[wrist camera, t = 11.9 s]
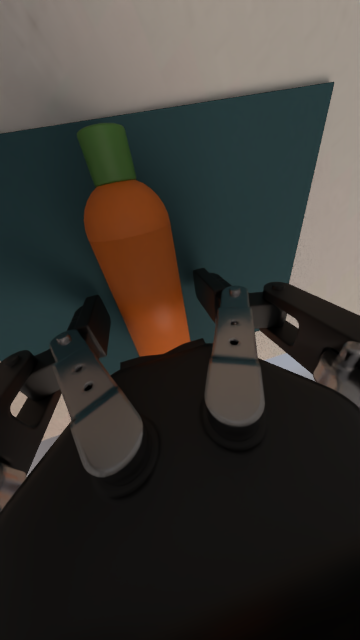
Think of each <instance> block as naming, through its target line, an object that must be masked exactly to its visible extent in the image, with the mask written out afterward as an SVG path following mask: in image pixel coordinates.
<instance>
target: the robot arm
mask: <svg viewBox="0 0 360 640" xmlns="http://www.w3.org/2000/svg"><path fill="white" fill-rule="evenodd" d="M193 278H194V286H195V293H196V297H197V299H198V300H199V302H200V303H201V305H202V306H203V307H204V309H205V310H206V312H207V313H208V315H209V316H210V317H211V319H212V320H213V322H214V323H215V325H216V327H215V334H214V341H213V343H205V341H204V339H203V338H201V339H197V340H194V341H191V342H187V343H184V344H182V345H180V346H178V347H176V348H174V349H172V350H170V351H168V352H166V353H164V354H158V355H148V356H140V357H137V358H134V359H130V360H127V361H124V362H120V370H118V371H116V372H115V373H113V374H112V375H110V374H109V373H108V371H107V370H106V369H105V367H104V366H103V364H102V363H101V362H100V360H99V358H103V357H106V356H107V350H108V342H109V334H110V326H111V319H110V316H109V313H108V311H107V309H106V307H105V305H104V303H103V301H102V299H101V297H100V296H99V295H94V296H90V297H86V299H85V301H84V304H83V306H81V307H80V308H79V309H77V310H76V311H75V313H74V316H73V318H72V320H71V322H70V324H69V327H68V329H67V331H65V332H62V333H60V334H59V335H57V336H56V337H54V338H53V339H52V340H51V342H50V344H49V347H50V349H48V350H46V351H44V352H42V353H40V354H37V355H35V356H34V355H33V354H32V353H31V352H30V351H28V350H23V351H19V352H16V353H14V354H12V355H10V356H9V357H7V358H5V359H4V360H3V361H2V362H1V363H0V640H360V316H359V315H357V314H355V313H352V312H350V311H348V310H346V309H344V308H341V307H339V306H337V305H335V304H332V303H330V302H328V301H326V300H323V299H321V298H319V297H317V296H315V295H312V294H310V293H308V292H306V291H303V290H301V289H299V288H297V287H295V286H292V285H290V284H288V283H284V282H270V283H267V284H265V285H264V287H263V292H255V293H248V290H247V289H246V288H245V287H242V286H232V285H230V284H229V283H228V282H227V281H226V280H224V279H223V278H222V277H221V276H220V275H218V274H216V273H213V272H212V273H209V272H208V271H207V270H206V269H205V268H200V269H196V270H193ZM287 313H288V314H289V315H291V316H292V317H294V318H295V319H296V320H297V321H298V323H299V329H298V328H297V327H295V326H294V325H292V324H290V323H289V322H287V321H286V316H287ZM254 329H259V330H260V331H261V332H262V333H264V334H265V335H266V336H267V337H268V338H270V339H271V340H272V341H273V342H274V343H276V344H277V345H278V346H279V347H280V348H282V349H283V350H284V351H285V352H286V353H288V354H289V355H290V356H291V357H293V358H294V359H295V360H296V361H297V362H298V363H300V364H301V365H302V366H303V367H304V368H306V369H307V370H308V371H309V372H310V373H312V374H313V377H314V379H315V381H316V382H315V381H313V380H310V379H308V378H305V377H303V376H300V375H298V374H296V373H293V372H290V371H288V370H286V369H283V368H281V367H279V366H276V365H274V364H271V363H268V362H266V361H264V360H261V359H259V358H258V356H257V347H256V339H255V330H254ZM19 391H21V392H22V393H23V394H25V395H26V396H27V397H28V398H27V400H26V402H25V403H24V405H23V407H22V408H21V410H20V412H19V414H18V415H17V417H14V416H13V415H12V414H11V412H10V406H11V403H12V402H13V400H14V399H15V397H16V395H17V394H18V392H19ZM61 394H62V395H63V398H64V401H65V403H66V406H67V409H68V412H69V414H70V417H71V422H70V423H69V425H68V426H67V427H66V428H65V430H64V431H63V432H62V434H61V435H60V436H59V437H58V439H57V440H56V441H55V442H54V444H53V445H52V446H51V447H50V449H49V450H48V451H47V452H46V454H45V455H44V456H43V458H42V459H41V460H40V461H39V463H38V464H37V465H36V466H35V468H34V469H33V470H32V471H31V473H30V474H29V475H28V477H26V475H27V473H28V471H29V469H30V466H31V464H32V462H33V459H34V457H35V454H36V452H37V450H38V447H39V445H40V443H41V440H42V438H43V436H44V433H45V431H46V429H47V426H48V424H49V422H50V419H51V417H52V415H53V412H54V410H55V408H56V405H57V403H58V401H59V398H60V396H61Z"/></svg>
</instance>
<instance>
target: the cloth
mask: <svg viewBox="0 0 360 640" xmlns="http://www.w3.org/2000/svg"><path fill="white" fill-rule="evenodd" d="M333 87H334V82H330V83H323V84H317V85H310V86H304V87H298V88H291V89H285V90H278V91H272V92H265V93H259V94H253V95H246V96H240V97H233V98H227V99H221V100H214V101H208V102H201V103H195V104H189V105H182V106H176V107H169V108H163V109H156V110H150V111H144V112H137V113H131V114H124V115H118V116H112V117H105V118H99V119H92V120H86V121H80V122H73V123H67V124H60V125H54V126H47V127H41V128H35V129H28V130H22V131H15V132H9V133H3V134H0V361H1V362H2V361H3V360H4V359H5V358H7V357H9V356H10V355H12V354H14V353H16V352H19V351H23V350H28V351H30V352H31V353H32V354H33V355H34V356H35V355H37V354H40V353H42V352H44V351H46V350H48V349H50V347H49V344H50V342H51V340H52V339H53V338H54V337H56V336H57V335H59V334H60V333H62V332H65V331H67V329H68V327H69V324H70V322H71V320H72V318H73V316H74V313H75V311H76V310H77V309H79V308H80V307H81V306H83V304H84V301H85V299H86V297H90V296H94V295H99V296H100V297H101V299H102V301H103V303H104V305H105V307H106V309H107V311H108V313H109V316H110V319H111V326H110V334H109V342H108V350H107V356H106V357H103V358H99V360H100V362H101V363H102V364H103V366H104V367H105V369H106V370H107V371H108V373H109V374H110V375H112V374H113V373H115V372H116V371H118V370H120V362H124V361H127V360H130V359H134V358H137V357H140V356H139V354H138V351H137V349H136V347H135V345H134V342H133V340H132V338H131V336H130V333H129V331H128V329H127V326H126V324H125V322H124V320H123V317H122V315H121V313H120V311H119V308H118V306H117V304H116V302H115V299H114V297H113V295H112V292H111V290H110V288H109V286H108V283H107V281H106V279H105V277H104V274H103V272H102V270H101V267H100V265H99V263H98V261H97V258H96V256H95V254H94V252H93V249H92V247H91V245H90V243H89V240H88V238H87V235H86V232H85V226H84V210H85V206H86V203H87V200H88V198H89V196H90V195H91V193H92V192H93V191H94V189H95V188H96V187H95V185H94V183H93V180H92V177H91V175H90V172H89V169H88V166H87V163H86V161H85V158H84V155H83V152H82V150H81V147H80V144H79V141H78V138H77V132H78V131H79V130H81V129H82V128H84V127H87V126H90V125H94V124H99V123H116V124H119V125H122V126H123V127H124V129H125V132H126V136H127V140H128V144H129V148H130V153H131V157H132V161H133V165H134V169H135V173H136V180H137V181H139V182H142V183H144V184H145V185H147V186H148V187H149V188H151V189H152V190H153V191H154V192H155V193H156V194H157V195H158V196H159V198H160V199H161V201H162V202H163V204H164V206H165V208H166V210H167V212H168V216H169V219H170V224H171V230H172V236H173V242H174V248H175V254H176V260H177V266H178V271H179V277H180V283H181V289H182V295H183V301H184V307H185V312H186V318H187V324H188V330H189V336H190V342H191V341H194V340H197V339H201V338H203V339H204V341H205V343H213V341H214V334H215V327H216V325H215V323H214V322H213V320H212V319H211V317H210V316H209V315H208V313H207V312H206V310H205V309H204V307H203V306H202V305H201V303H200V302H199V300H198V299H197V297H196V293H195V286H194V278H193V270H196V269H200V268H205V269H206V270H207V271H208V272H209V273H212V272H213V273H216V274H218V275H220V276H221V277H222V278H223V279H224V280H226V281H227V282H228V283H229V284H230V285H232V286H242V287H245V288H246V289H247V290H248V293H255V292H263V287H264V285H265V284H267V283H270V282H284V283H288V284H289V280H290V276H291V271H292V267H293V263H294V258H295V254H296V249H297V245H298V241H299V236H300V232H301V227H302V223H303V219H304V214H305V210H306V205H307V201H308V197H309V192H310V188H311V183H312V179H313V175H314V170H315V166H316V161H317V157H318V153H319V148H320V144H321V139H322V135H323V131H324V126H325V122H326V117H327V113H328V109H329V104H330V100H331V95H332V91H333ZM254 330H255V332H256V331H259V329H254Z"/></svg>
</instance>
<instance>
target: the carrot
mask: <svg viewBox="0 0 360 640" xmlns="http://www.w3.org/2000/svg"><path fill="white" fill-rule="evenodd" d="M77 138H78V141H79V144H80V147H81V150H82V152H83V155H84V158H85V161H86V163H87V166H88V169H89V172H90V175H91V177H92V180H93V183H94V185H95V187H96V188H95V189H94V191H93V192H92V193H91V195H90V196H89V198H88V200H87V203H86V206H85V210H84V226H85V232H86V235H87V238H88V240H89V243H90V245H91V247H92V249H93V252H94V254H95V256H96V258H97V261H98V263H99V265H100V267H101V270H102V272H103V274H104V277H105V279H106V281H107V283H108V286H109V288H110V290H111V292H112V295H113V297H114V299H115V302H116V304H117V306H118V308H119V311H120V313H121V315H122V317H123V320H124V322H125V324H126V326H127V329H128V331H129V333H130V336H131V338H132V340H133V342H134V345H135V347H136V349H137V351H138V354H139V356H148V355H158V354H164V353H166V352H168V351H170V350H172V349H174V348H176V347H178V346H180V345H182V344H184V343H187V342H190V336H189V330H188V324H187V318H186V312H185V307H184V301H183V295H182V289H181V283H180V277H179V271H178V266H177V260H176V254H175V248H174V242H173V236H172V230H171V224H170V219H169V216H168V212H167V210H166V208H165V206H164V204H163V202H162V201H161V199H160V198H159V196H158V195H157V194H156V193H155V192H154V191H153V190H152V189H151V188H149V187H148V186H147V185H145V184H144V183H142V182H139V181H137V180H136V173H135V169H134V165H133V161H132V157H131V153H130V148H129V144H128V140H127V136H126V132H125V129H124V127H123V126H122V125H119V124H116V123H99V124H94V125H90V126H87V127H84V128H82V129H81V130H79V131H78V132H77Z"/></svg>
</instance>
